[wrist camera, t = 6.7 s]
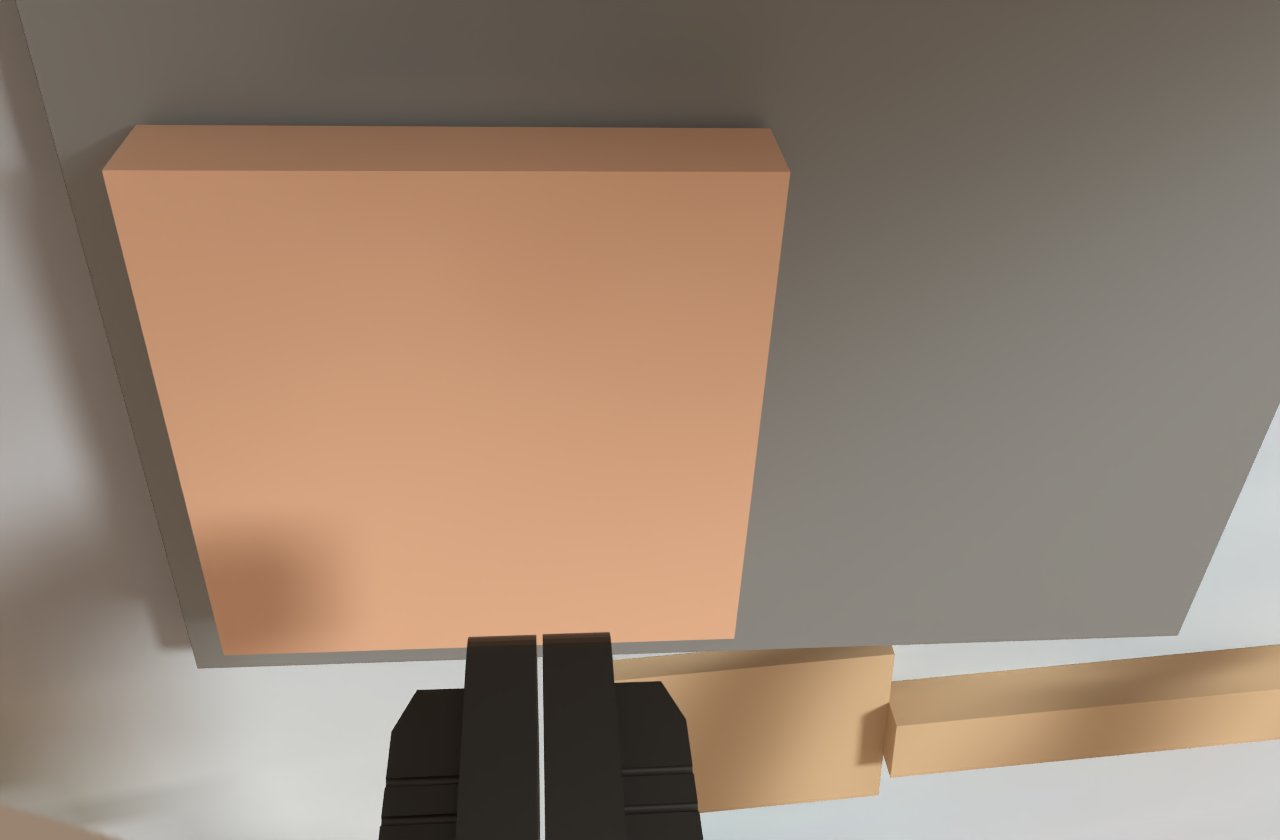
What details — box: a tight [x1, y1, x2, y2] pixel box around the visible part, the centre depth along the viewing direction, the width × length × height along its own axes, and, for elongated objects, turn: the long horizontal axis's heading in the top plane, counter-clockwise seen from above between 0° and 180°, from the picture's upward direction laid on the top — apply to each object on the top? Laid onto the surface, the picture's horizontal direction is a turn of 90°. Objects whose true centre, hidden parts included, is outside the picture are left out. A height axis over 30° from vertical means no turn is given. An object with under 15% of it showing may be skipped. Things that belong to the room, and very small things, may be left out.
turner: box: [613, 644, 1280, 813], centre depth 23 cm, size 16×4×1 cm, turn 93°
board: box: [15, 0, 1280, 668], centre depth 16 cm, size 18×18×1 cm
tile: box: [102, 125, 790, 655], centre depth 16 cm, size 8×2×8 cm
